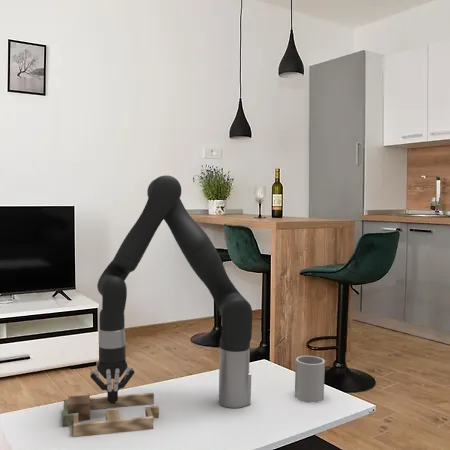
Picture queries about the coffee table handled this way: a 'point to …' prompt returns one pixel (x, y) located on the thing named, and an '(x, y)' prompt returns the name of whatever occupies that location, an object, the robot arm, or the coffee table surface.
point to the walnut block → (79, 406)
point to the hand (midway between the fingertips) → (112, 402)
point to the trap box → (113, 416)
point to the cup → (309, 378)
